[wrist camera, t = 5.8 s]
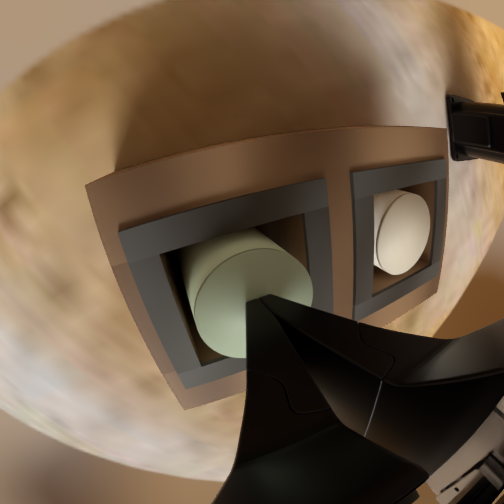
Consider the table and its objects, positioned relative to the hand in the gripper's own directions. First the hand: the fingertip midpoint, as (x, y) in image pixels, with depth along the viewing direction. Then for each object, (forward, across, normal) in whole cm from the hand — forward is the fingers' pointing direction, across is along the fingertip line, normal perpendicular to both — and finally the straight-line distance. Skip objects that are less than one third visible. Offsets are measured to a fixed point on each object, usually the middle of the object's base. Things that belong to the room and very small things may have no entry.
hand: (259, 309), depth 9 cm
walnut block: (+7, -4, 0) cm, 8 cm away
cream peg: (+7, -8, 0) cm, 11 cm away
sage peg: (+6, 0, 0) cm, 6 cm away
